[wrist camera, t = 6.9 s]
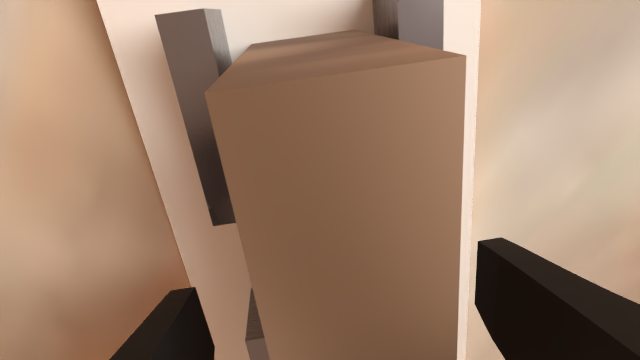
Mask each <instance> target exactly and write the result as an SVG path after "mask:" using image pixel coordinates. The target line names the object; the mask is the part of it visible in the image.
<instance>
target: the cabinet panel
mask: <svg viewBox="0 0 640 360" xmlns="http://www.w3.org/2000/svg"><path fill="white" fill-rule="evenodd" d="M97 3H98V6H99V9H100V12H101V16H102V19H103V22H104V25H105V28H106V31H107V34H108V37H109V40H110V43H111V46H112V49H113V52H114V55H115V58H116V61H117V64H118V67H119V70H120V73H121V76H122V79H123V82H124V85H125V88H126V91H127V94H128V97H129V100H130V103H131V106H132V109H133V112H134V115H135V118H136V122H137V125H138V128H139V131H140V134H141V137H142V140H143V143H144V146H145V149H146V152H147V155H148V158H149V161H150V164H151V167H152V170H153V173H154V176H155V179H156V182H157V185H158V188H159V191H160V194H161V197H162V200H163V203H164V206H165V209H166V212H167V215H168V218H169V221H170V225H171V228H172V231H173V234H174V237H175V240H176V243H177V246H178V249H179V252H180V255H181V258H182V261H183V264H184V267H185V270H186V273H187V276H188V279H189V282H190V285H191V287H196V290H197V293H198V296H199V300H200V303H201V306H202V309H203V312H204V315H205V318H206V321H207V324H208V327H209V330H210V333H211V337H212V340H213V343H214V346H215V352H214V358H215V360H250V357H249V354H248V350H247V346H246V343H245V337H246V328H247V319H248V310H249V301H250V292H251V288H252V284H251V280H250V276H249V272H248V268H247V264H246V260H245V256H244V252H243V248H242V244H241V240H240V236H239V232H238V228H237V224H236V223H232V224H225V225H219V226H213V224H212V221H211V217H210V213H209V210H208V206H207V203H206V199H205V195H204V192H203V188H202V185H201V181H200V177H199V174H198V170H197V167H196V163H195V159H194V156H193V152H192V149H191V145H190V141H189V138H188V134H187V131H186V127H185V123H184V120H183V116H182V113H181V109H180V106H179V102H178V98H177V95H176V91H175V88H174V84H173V80H172V77H171V73H170V70H169V66H168V62H167V59H166V55H165V52H164V48H163V44H162V41H161V37H160V34H159V30H158V26H157V23H156V19H155V16H154V15H158V14H165V13H172V12H180V11H187V10H194V9H202V8H207V9H221V13H222V18H223V23H224V27H225V32H226V37H227V42H228V46H229V51H230V56H231V61H232V64H233V63H234V62H235V61H236V60H237V58H238V57H239V56H240V55H241V54H242V53H243V52H244V51H245V50H246V49H247V48H248V47H249V46H250V45H251V44H254V43H262V42H269V41H276V40H283V39H291V38H298V37H305V36H312V35H319V34H327V33H334V32H341V31H348V30H356V31H361V32H365V33H370V34H374V19H373V3H372V0H97ZM480 13H481V0H444V35H443V50H444V51H449V52H453V53H457V54H462V55H466V85H465V117H464V149H463V181H462V213H461V245H460V277H459V309H458V341H457V360H466V340H467V317H468V293H469V270H470V247H471V223H472V200H473V176H474V153H475V130H476V106H477V83H478V59H479V36H480Z"/></svg>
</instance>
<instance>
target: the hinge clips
mask: <svg viewBox="0 0 640 360" xmlns="http://www.w3.org/2000/svg"><path fill="white" fill-rule="evenodd" d="M372 3H373V19H374V35H378V36H383V37H387V38H392V39H396V40H400V41H405V42H409V43H414V44H418V45H422V46H427V47H431V48H435V49H440V50H443V35H444V0H372ZM154 16H155V19H156V23H157V26H158V30H159V34H160V37H161V41H162V44H163V48H164V52H165V55H166V59H167V62H168V66H169V70H170V73H171V77H172V80H173V84H174V88H175V91H176V95H177V98H178V102H179V106H180V109H181V113H182V116H183V120H184V123H185V127H186V131H187V134H188V138H189V141H190V145H191V149H192V152H193V156H194V159H195V163H196V167H197V170H198V174H199V177H200V181H201V185H202V188H203V192H204V195H205V199H206V203H207V206H208V210H209V213H210V217H211V221H212V224H213V226H219V225H225V224H232V223H236V219H235V215H234V211H233V207H232V203H231V199H230V195H229V191H228V187H227V183H226V179H225V175H224V171H223V167H222V163H221V159H220V155H219V151H218V147H217V142H216V138H215V134H214V130H213V126H212V122H211V118H210V114H209V110H208V106H207V102H206V98H205V94H204V93H205V92H206V91H207V90H208V88H209V87H210V86H211V85H212V84H213V83H214V82H215V81H216V80H217V79H218V78H219V77H220V76H221V75H222V74H223V73H224V72H225V71H226V70H227V69H228V68H229V67H230V66H231V65H232V61H231V56H230V51H229V46H228V42H227V37H226V32H225V27H224V23H223V18H222V13H221V9H207V8H202V9H194V10H187V11H180V12H172V13H165V14H158V15H154ZM245 343H246V346H247V350H248V354H249V357H250V360H270V357H269V353H268V349H267V345H266V341H265V337H264V333H263V329H262V325H261V321H260V317H259V313H258V309H257V305H256V301H255V296H254V292H253V288H251V292H250V301H249V310H248V319H247V328H246V337H245Z"/></svg>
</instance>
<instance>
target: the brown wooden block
mask: <svg viewBox="0 0 640 360" xmlns="http://www.w3.org/2000/svg"><path fill="white" fill-rule="evenodd" d="M465 85H466V55H462V54H457V53H453V52H449V51H444V50H440V49H435V48H431V47H427V46H422V45H418V44H414V43H409V42H405V41H400V40H396V39H392V38H387V37H383V36H378V35H374V34H370V33H365V32H361V31H356V30H348V31H341V32H334V33H327V34H319V35H312V36H305V37H298V38H291V39H283V40H276V41H269V42H262V43H254V44H251V45H250V46H249V47H248V48H247V49H246V50H245V51H244V52H243V53H242V54H241V55H240V56H239V57H238V58H237V60H236V61H235V62H234V63H233V64H232V65H231V66H230V67H229V68H228V69H227V70H226V71H225V72H224V73H223V74H222V75H221V76H220V77H219V78H218V79H217V80H216V81H215V82H214V83H213V84H212V85H211V86H210V87H209V88H208V90H207V91H206V92H205V93H204V94H205V98H206V102H207V106H208V110H209V114H210V118H211V122H212V126H213V130H214V134H215V138H216V142H217V147H218V151H219V155H220V159H221V163H222V167H223V171H224V175H225V179H226V183H227V187H228V191H229V195H230V199H231V203H232V207H233V211H234V215H235V219H236V224H237V228H238V232H239V236H240V240H241V244H242V248H243V252H244V256H245V260H246V264H247V268H248V272H249V276H250V280H251V284H252V288H253V292H254V296H255V301H256V305H257V309H258V313H259V317H260V321H261V325H262V329H263V333H264V337H265V341H266V345H267V349H268V353H269V357H270V360H457V341H458V309H459V277H460V245H461V213H462V181H463V149H464V117H465Z"/></svg>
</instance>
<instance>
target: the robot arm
mask: <svg viewBox="0 0 640 360" xmlns="http://www.w3.org/2000/svg"><path fill="white" fill-rule="evenodd" d="M475 305H476V307H477V310H478V312H479V314H480V316H481V318H482V320H483V322H484V324H485V326H486V328H487V330H488V332H489V334H490V336H491V337H492V339H493V341H494V343H495V344H496V346H497V347H498V349H499V350H500V352H501V353H502V355H503V357H504V358H505V360H640V304H637V303H635V302H633V301H631V300H628V299H626V298H624V297H622V296H620V295H617V294H615V293H613V292H611V291H609V290H607V289H604V288H602V287H600V286H598V285H596V284H594V283H592V282H590V281H588V280H586V279H584V278H582V277H580V276H578V275H576V274H574V273H572V272H570V271H568V270H566V269H564V268H562V267H560V266H558V265H556V264H554V263H552V262H550V261H548V260H546V259H544V258H542V257H540V256H538V255H536V254H534V253H532V252H531V251H529V250H527V249H525V248H523V247H521V246H519V245H517V244H515V243H512V242H510V241H508V240H506V239H504V238H495V239H489V240H483V241H478V250H477V269H476V289H475ZM214 352H215V346H214V343H213V340H212V337H211V333H210V330H209V327H208V324H207V321H206V318H205V315H204V312H203V309H202V306H201V303H200V300H199V296H198V293H197V290H196V287H191V288H184V289H178V290H172V291H170V292H169V293H168V294H167V295H166V296H165V298H164V299H163V300H162V301H161V302H160V303H159V304H158V305H157V307H156V308H155V309H154V310H153V311H152V312H151V313H150V315H149V316H148V317H147V318H146V319H145V320H144V321H143V323H142V324H141V325H140V326H139V327H138V328H137V329H136V331H135V332H134V333H133V334H132V335H131V336H130V337H129V338H128V340H127V341H126V342H125V343H124V344H123V345H122V346H121V347H120V348H119V350H118V351H117V352H116V353H115V354H114V355H113V356H112V357H111V358H110V360H214Z"/></svg>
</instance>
